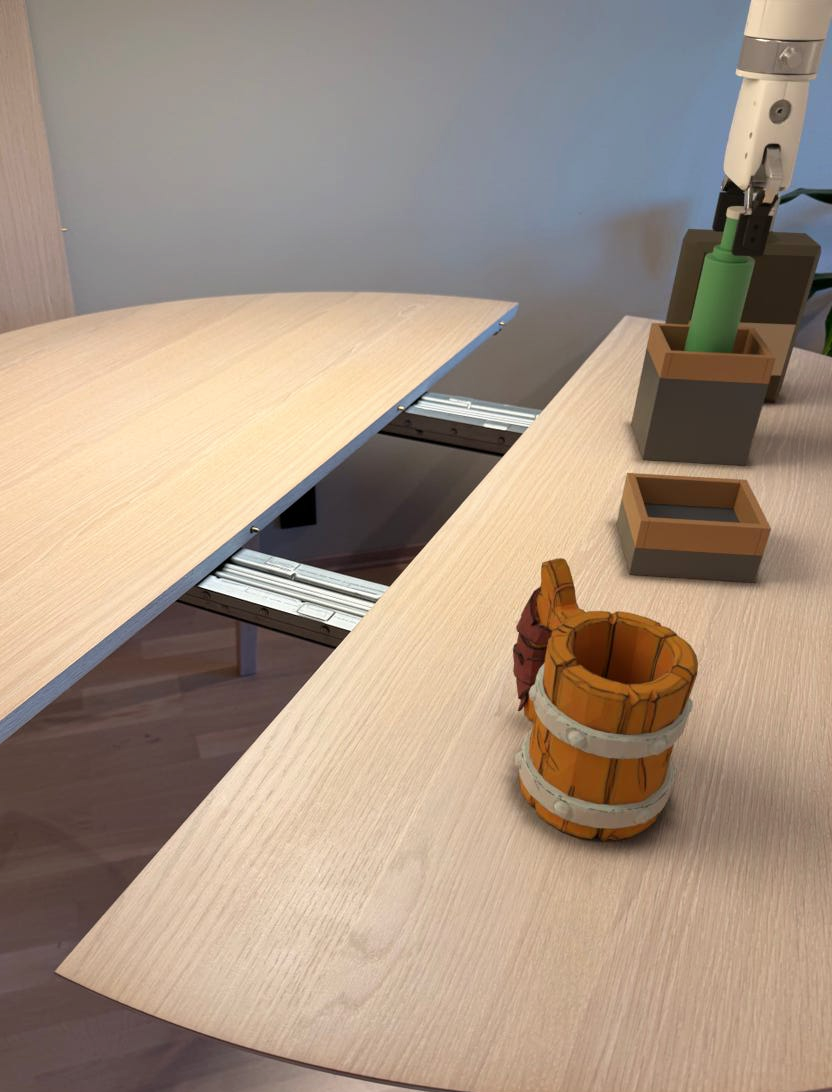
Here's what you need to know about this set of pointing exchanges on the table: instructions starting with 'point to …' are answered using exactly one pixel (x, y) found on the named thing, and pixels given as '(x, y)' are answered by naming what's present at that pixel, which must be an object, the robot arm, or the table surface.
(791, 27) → the robot arm
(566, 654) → the mug
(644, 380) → the grey storage bin
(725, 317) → the green bottle
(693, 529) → the shallow open tray
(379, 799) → the table surface
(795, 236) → the dark boxy piece
